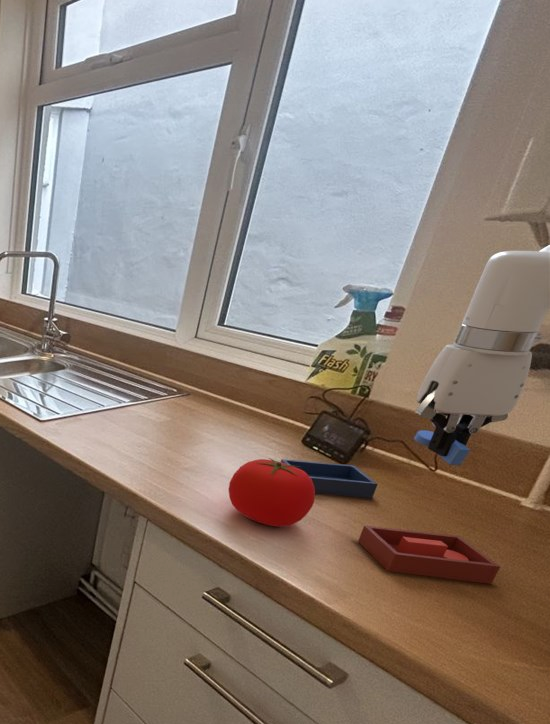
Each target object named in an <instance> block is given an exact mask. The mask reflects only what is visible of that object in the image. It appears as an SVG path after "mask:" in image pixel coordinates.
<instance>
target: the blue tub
mask: <svg viewBox="0 0 550 724" xmlns="http://www.w3.org/2000/svg"><path fill="white" fill-rule="evenodd" d="M280 462H282V463H285V464H288V465H293V466H294V467H296V466H300V467H296V468H298V469H301V470H303V471H304V472H306V473H307V474H308V475H309V477H310V478H311V479H312V482H313V484H314V489H315V494H325V495H326V494H327V495H333V496H334V495H336V496H345V497H353V498H366V499H373V497H374V495H375V492H376V489H377V487H378V485H379V484H378V483H377V482H376V481H375V480H373V479H372V478H371V477H369V475H367V474H365V473H364V472H363V471H361V470H360V469H359V468H357V466H356V465H354V464H343V463H342V464H341V463H331V462H319V461H308V460H295V459H285V458H284V459H283V458H281V460H280Z"/></svg>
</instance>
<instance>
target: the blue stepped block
mask: <svg viewBox="0 0 550 724" xmlns="http://www.w3.org/2000/svg"><path fill="white" fill-rule="evenodd" d="M433 433H434V431H432V430H431V431H430V430H424V429H422V430H418V431H417V432H416V434H415V436H414V438H413V439H414V441H415V442H417V444H420V445H423V446H425V447H428V446H429V443H430V440H431V438H432V436H433ZM470 452H471V449H470V448H469V447H468V446H467V445H466V446H465V445H464V444H462V443H459V442H458V441H457V440H456V439H455V442H454V443H452V445H451V448H450V450H449V452H448V455H447V456H440V455H439V454H437V453H435V454H436V455H437V456H439V458H440V459H442V460H443V461H444V462H445V463H447V465H450V466H461V464H462V463H463V462H464V461H465V459H466V457H467V456H468V454H469V453H470Z"/></svg>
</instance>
